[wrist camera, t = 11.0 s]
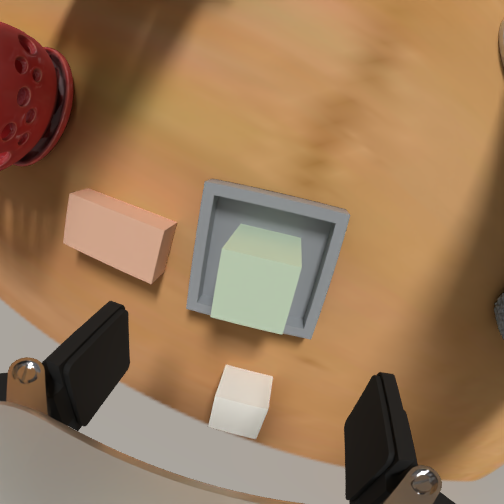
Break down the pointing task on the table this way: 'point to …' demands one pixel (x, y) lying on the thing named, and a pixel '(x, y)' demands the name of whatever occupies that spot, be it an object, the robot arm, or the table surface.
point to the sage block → (257, 278)
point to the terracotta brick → (119, 234)
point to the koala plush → (500, 314)
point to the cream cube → (241, 402)
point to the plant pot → (31, 98)
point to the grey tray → (274, 219)
